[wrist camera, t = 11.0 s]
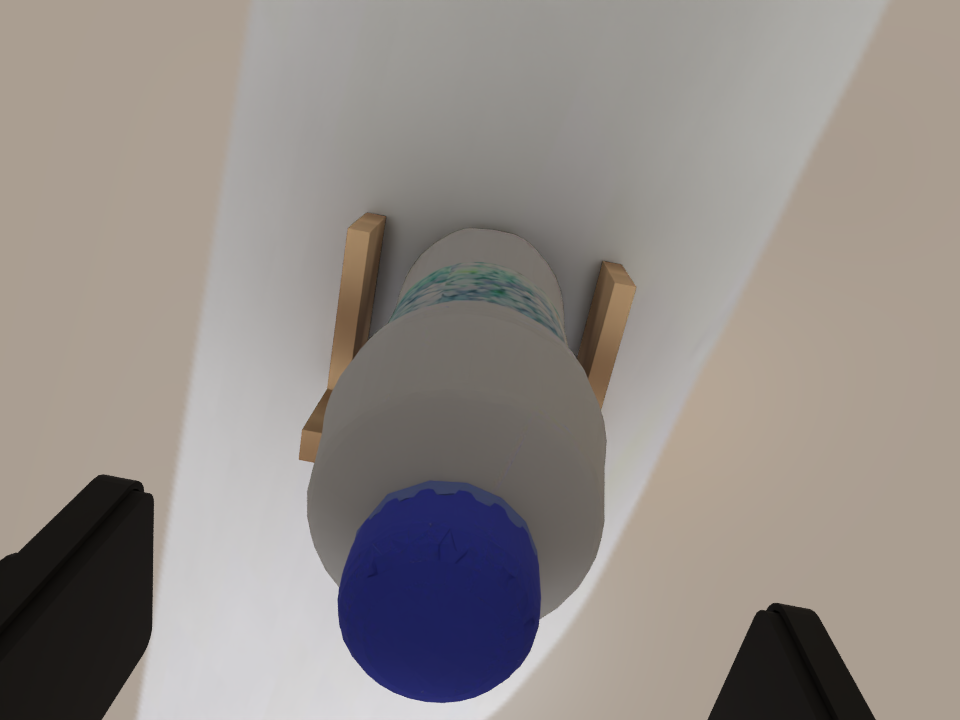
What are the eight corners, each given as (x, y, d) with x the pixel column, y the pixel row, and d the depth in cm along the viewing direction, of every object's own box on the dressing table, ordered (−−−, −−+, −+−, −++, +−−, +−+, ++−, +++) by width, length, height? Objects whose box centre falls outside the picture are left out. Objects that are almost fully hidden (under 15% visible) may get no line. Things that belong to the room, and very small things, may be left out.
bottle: (428, 383, 31) (305, 833, 12) (382, 237, 28) (143, 510, 10) (578, 349, 30) (694, 776, 11) (543, 195, 28) (616, 408, 9)
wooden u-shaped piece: (366, 212, 28) (323, 248, 22) (622, 264, 28) (655, 315, 22) (343, 381, 31) (298, 459, 24) (576, 427, 31) (594, 516, 25)
